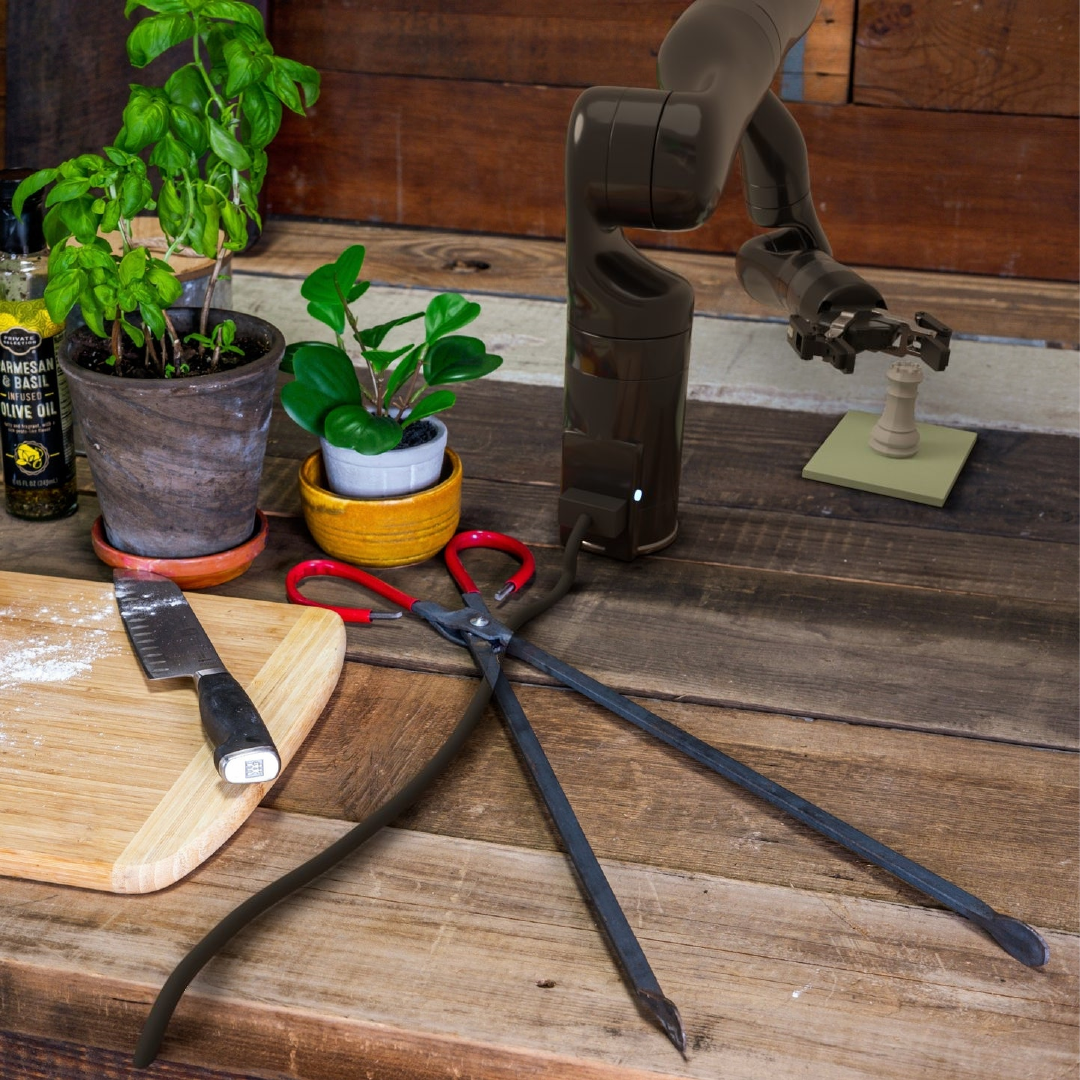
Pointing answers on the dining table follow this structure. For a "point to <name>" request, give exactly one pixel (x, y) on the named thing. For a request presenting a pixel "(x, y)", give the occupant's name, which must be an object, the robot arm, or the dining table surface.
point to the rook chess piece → (898, 413)
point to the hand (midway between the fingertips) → (897, 362)
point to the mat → (892, 461)
